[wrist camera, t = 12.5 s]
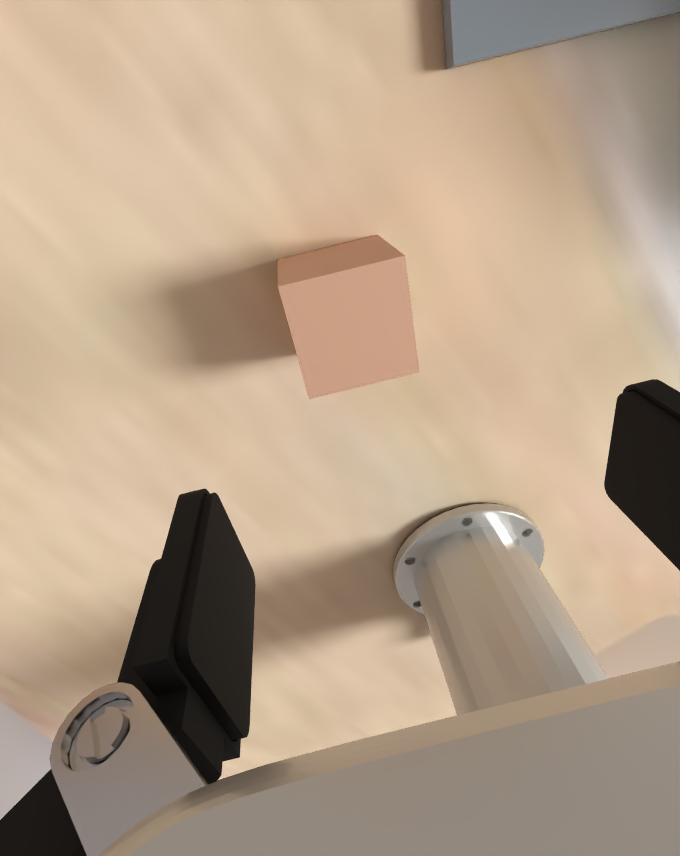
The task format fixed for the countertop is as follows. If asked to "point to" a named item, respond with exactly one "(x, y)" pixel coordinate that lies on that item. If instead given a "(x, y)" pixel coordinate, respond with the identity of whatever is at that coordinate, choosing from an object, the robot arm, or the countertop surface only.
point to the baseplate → (534, 23)
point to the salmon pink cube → (349, 314)
